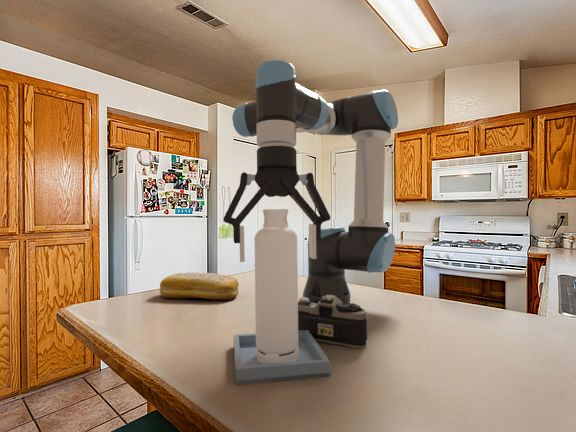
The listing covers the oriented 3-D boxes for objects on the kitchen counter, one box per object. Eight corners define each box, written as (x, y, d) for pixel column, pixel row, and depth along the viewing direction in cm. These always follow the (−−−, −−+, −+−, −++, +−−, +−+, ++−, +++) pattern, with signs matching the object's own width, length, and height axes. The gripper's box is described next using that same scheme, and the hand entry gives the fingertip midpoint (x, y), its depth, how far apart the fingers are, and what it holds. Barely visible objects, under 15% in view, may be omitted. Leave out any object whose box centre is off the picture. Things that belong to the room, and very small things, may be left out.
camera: (373, 335, 78) (373, 292, 77) (363, 352, 68) (363, 302, 68) (309, 326, 84) (309, 286, 84) (292, 340, 75) (292, 295, 75)
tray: (308, 341, 74) (308, 329, 74) (330, 375, 58) (330, 361, 58) (233, 346, 71) (233, 334, 71) (235, 384, 55) (235, 369, 55)
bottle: (294, 367, 60) (292, 209, 59) (250, 364, 61) (248, 209, 61) (301, 349, 68) (300, 209, 67) (262, 346, 69) (261, 209, 69)
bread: (171, 292, 122) (170, 269, 122) (243, 293, 120) (242, 270, 120) (152, 301, 109) (152, 276, 109) (233, 303, 106) (233, 278, 106)
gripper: (333, 152, 70) (334, 254, 71) (210, 150, 66) (212, 259, 66) (346, 145, 63) (347, 259, 63) (207, 142, 58) (210, 265, 59)
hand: (278, 259), depth 65 cm, fingers open, 13 cm apart
